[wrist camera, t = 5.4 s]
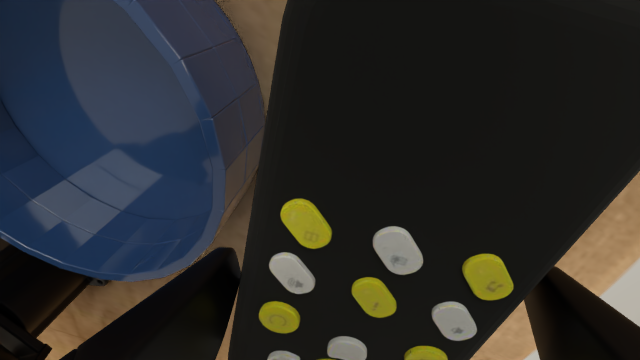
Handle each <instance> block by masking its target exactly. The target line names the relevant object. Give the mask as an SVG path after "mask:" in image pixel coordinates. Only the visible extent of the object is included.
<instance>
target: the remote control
mask: <svg viewBox="0 0 640 360" xmlns="http://www.w3.org/2000/svg"><path fill="white" fill-rule="evenodd" d="M639 171H640V0H288V1H287V4H286V8H285V11H284V14H283V18H282V24H281V30H280V37H279V43H278V49H277V55H276V61H275V68H274V74H273V80H272V86H271V92H270V98H269V105H268V111H267V117H266V123H265V129H264V136H263V142H262V148H261V154H260V160H259V167H258V173H257V179H256V185H255V191H254V198H253V204H252V210H251V216H250V222H249V229H248V235H247V241H246V247H245V253H244V259H243V266H242V272H241V278H240V284H239V290H238V297H237V303H236V309H235V315H234V321H233V328H232V334H231V340H230V346H229V352H228V360H469V359H470V358H471V357H472V356H473V355H474V354H475V353H476V352H477V351H478V349H479V348H480V347H481V346H482V345H483V344H484V343H485V342H486V341H487V340H488V338H489V337H490V336H491V335H492V334H493V333H494V332H495V331H496V330H497V328H498V327H499V326H500V325H501V324H502V323H503V322H504V321H505V320H506V318H507V317H508V316H509V315H510V314H511V313H512V312H513V311H514V310H515V308H516V307H517V306H518V305H519V304H520V303H521V302H522V301H523V300H524V299H525V297H526V296H527V295H528V294H529V293H530V292H531V291H532V290H533V289H534V287H535V286H536V285H537V284H538V283H539V282H540V281H541V280H542V279H543V277H544V276H545V275H546V274H547V273H548V272H549V271H550V270H551V269H552V267H553V266H554V265H555V264H556V263H557V262H558V261H559V260H560V259H561V258H562V256H563V255H564V254H565V253H566V252H567V251H568V250H569V249H570V248H571V246H572V245H573V244H574V243H575V242H576V241H577V240H578V239H579V238H580V236H581V235H582V234H583V233H584V232H585V231H586V230H587V229H588V228H589V226H590V225H591V224H592V223H593V222H594V221H595V220H596V219H597V218H598V217H599V215H600V214H601V213H602V212H603V211H604V210H605V209H606V208H607V207H608V205H609V204H610V203H611V202H612V201H613V200H614V199H615V198H616V197H617V195H618V194H619V193H620V192H621V191H622V190H623V189H624V188H625V187H626V185H627V184H628V183H629V182H630V181H631V180H632V179H633V178H634V177H635V176H636V174H637V173H638V172H639Z"/></svg>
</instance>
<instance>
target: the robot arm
mask: <svg viewBox="0 0 640 360" xmlns="http://www.w3.org/2000/svg"><path fill="white" fill-rule="evenodd" d="M240 278H241V270H240V266H239V262H238V258H237V255H236V251H235V250H234V249H233V248H224V247H219V248H217V249H215V250H213V251H212V252H211V253H209V254H208V255H206V256H205V257H204V258H202V259H201V260H199V261H198V262H197V263H195V264H194V265H192V266H191V267H189V268H188V269H187V270H185V271H184V272H182V273H181V274H180V275H178V276H177V277H175V278H174V279H173V280H171V281H170V282H168V283H167V284H165V285H164V286H163V287H161V288H160V289H158V290H157V291H156V292H154V293H153V294H151V295H150V296H149V297H147V298H146V299H144V300H143V301H142V302H140V303H139V304H137V305H136V306H134V307H133V308H132V309H130V310H129V311H127V312H126V313H125V314H123V315H122V316H120V317H119V318H118V319H116V320H115V321H113V322H112V323H110V324H109V325H108V326H106V327H105V328H103V329H102V330H101V331H99V332H98V333H96V334H95V335H94V336H92V337H91V338H89V339H88V340H86V341H85V342H84V343H82V344H81V345H79V346H78V348H77V349H74V350H72V351H71V352H69V353H68V354H67V355H65V356H64V357H62V358H61V359H59V360H215V359H216V356H217V354H218V351H219V349H220V346H221V344H222V341H223V338H224V335H225V332H226V329H227V326H228V322H229V319H230V315H231V312H232V308H233V305H234V301H235V298H236V294H237V291H238V287H239V284H240ZM108 282H109V280H103V279H97V278H93V277H90V276H86V275H82V274H79V273H75V272H71V271H68V270H64V269H61V268H59V267H57V266H55V265H52V264H50V263H48V262H45V261H43V260H41V259H39V258H36V257H34V256H32V255H29V254H27V253H26V252H23V251H22V250H20V249H18V248H17V247H15V246H13V245H12V244H10V243H8V242H7V241H5V240H3V239H2V238H0V360H45V358H46V357H47V355H48V354H49V353H50V351H51V350H52V348H51V347H50V346H49V345H47V344H43V343H42V342H41V341H39V340H38V339H37V337H38V336H39V335H40V334H41V333H42V332H43V331H44V330H45V329H46V328H47V327H48V326H49V325H50V324H51V323H52V321H53V320H54V319H55V318H56V317H57V316H58V315H59V314H60V313H61V312H62V311H63V310H64V309H65V308H66V307H67V306H68V305H69V304H70V303H71V302H72V301H73V300H74V299H75V298H76V297H77V296H78V295H79V294H80V293H81V292H82V291H83V290H84V289H85V288H86V287H87V286H88V285H95V286H105V285H106V284H107V283H108ZM524 302H525V306H526V309H527V313H528V317H529V321H530V324H531V328H532V332H533V335H534V339H535V343H536V346H537V350H538V353H539V357H540V360H640V327H639V326H637V325H636V324H635V323H633V322H632V321H631V320H629V319H628V318H626V317H625V316H624V315H622V314H621V313H620V312H618V311H617V310H615V309H614V308H613V307H611V306H610V305H609V304H607V303H606V302H605V301H603V300H602V299H600V298H599V297H598V296H596V295H595V294H594V293H592V292H591V291H589V290H588V289H587V288H585V287H584V286H583V285H581V284H580V283H578V282H577V281H576V280H574V279H573V278H572V277H570V276H569V275H567V274H566V273H565V272H563V271H562V270H561V269H559V268H557V267H555V266H553V267H552V269H551V270H550V271H549V272H548V273H547V274H546V275H545V276H544V277H543V279H542V280H541V281H540V282H539V283H538V284H537V285H536V286H535V287H534V289H533V290H532V291H531V292H530V293H529V294H528V295H527V296H526V297H525V299H524Z"/></svg>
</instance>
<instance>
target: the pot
mask: <svg viewBox="0 0 640 360" xmlns="http://www.w3.org/2000/svg"><path fill="white" fill-rule="evenodd" d="M264 129H265V116H264V106H263V100H262V95H261V91H260V87H259V82H258V79H257V76H256V74H255V71H254V68H253V65H252V62H251V60H250V58H249V56H248V53H247V51H246V49H245V47H244V45H243V43H242V41H241V39H240V37H239V36H238V34H237V32H236V31H235V29H234V28H233V26H232V24H231V23H230V21H229V20H228V18H227V17H226V15H225V14H224V13H223V11H222V10H221V9H220V8H219V6H218V5H217V4H216V2H215V1H214V0H0V238H2V239H3V240H5V241H7V242H8V243H10V244H12V245H13V246H15V247H17V248H18V249H20V250H22V251H23V252H26V253H27V254H29V255H32V256H34V257H36V258H39V259H41V260H43V261H45V262H48V263H50V264H52V265H55V266H57V267H59V268H61V269H64V270H68V271H71V272H75V273H79V274H82V275H86V276H90V277H93V278H97V279H103V280H114V281H126V282H137V281H144V280H151V279H158V278H163V277H166V276H169V275H171V274H173V273H175V272H177V271H179V270H181V269H183V268H186V267H188V266H190V265H191V264H193V262H194V261H195V260H196V259H197V258H198V257H199V256H200V255H201V254H202V253H203V252H204V251H205V250H206V249H207V248H208V247H209V246H210V245H211V244H212V242H213V241H214V239H215V238H216V236H217V235H218V233H219V232H220V230H221V229H222V227H223V226H224V224H225V223H226V221H227V220H228V218H229V217H230V215H231V214H232V212H233V211H234V209H235V208H236V206H237V205H238V203H239V202H240V200H241V199H242V197H243V196H244V194H245V193H246V191H247V189H248V188H249V185H250V183H251V181H252V179H253V177H254V175H255V173H256V172H257V169H258V166H259V160H260V154H261V148H262V142H263V136H264Z"/></svg>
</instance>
